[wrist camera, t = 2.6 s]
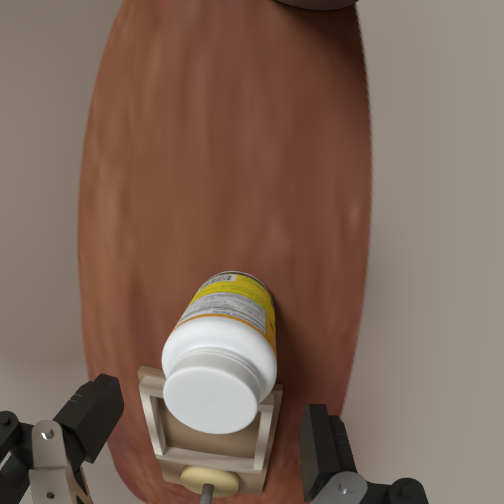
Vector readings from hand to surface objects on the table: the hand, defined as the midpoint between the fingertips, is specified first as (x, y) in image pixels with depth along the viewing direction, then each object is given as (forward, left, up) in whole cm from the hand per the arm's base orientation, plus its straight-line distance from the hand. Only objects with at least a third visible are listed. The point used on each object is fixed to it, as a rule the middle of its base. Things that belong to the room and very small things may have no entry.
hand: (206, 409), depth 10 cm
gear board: (+13, -10, -10) cm, 19 cm away
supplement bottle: (0, 0, -10) cm, 10 cm away
